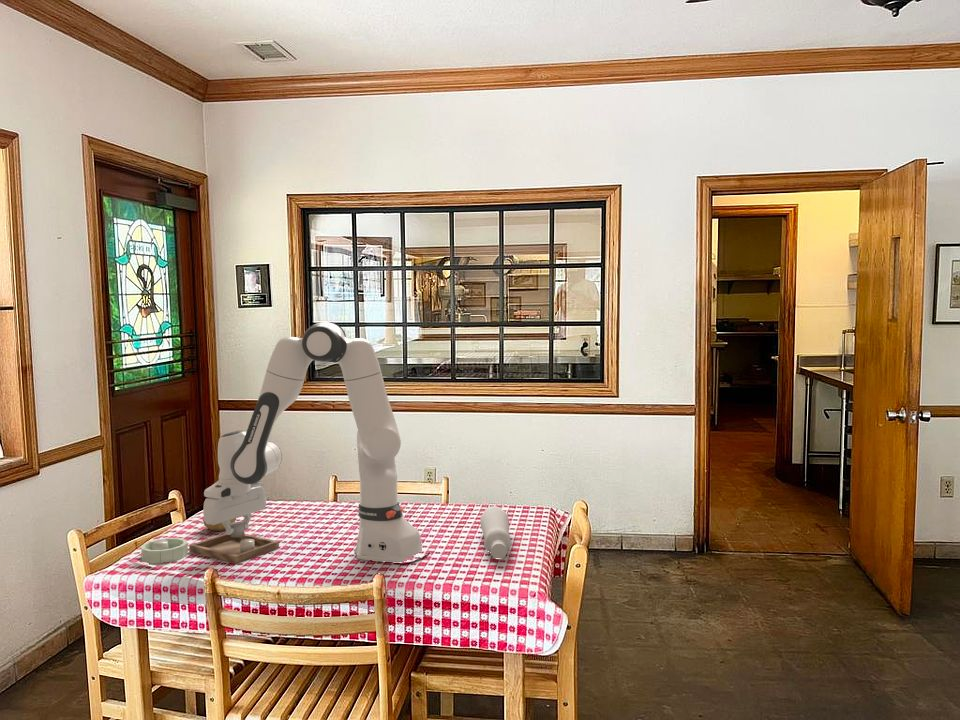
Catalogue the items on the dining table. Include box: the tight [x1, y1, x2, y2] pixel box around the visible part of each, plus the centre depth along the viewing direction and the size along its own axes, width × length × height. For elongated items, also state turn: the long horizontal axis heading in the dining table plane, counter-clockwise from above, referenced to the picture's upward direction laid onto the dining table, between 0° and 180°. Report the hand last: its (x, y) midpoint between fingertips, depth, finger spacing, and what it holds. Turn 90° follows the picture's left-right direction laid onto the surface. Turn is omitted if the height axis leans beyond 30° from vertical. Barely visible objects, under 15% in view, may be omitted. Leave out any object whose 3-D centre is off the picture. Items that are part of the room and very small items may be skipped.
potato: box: [202, 517, 237, 532], centre depth 231 cm, size 10×14×8 cm
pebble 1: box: [153, 540, 168, 550], centre depth 204 cm, size 4×4×4 cm
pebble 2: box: [230, 521, 246, 538], centre depth 209 cm, size 4×4×4 cm
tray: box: [188, 533, 280, 565], centre depth 209 cm, size 20×16×3 cm
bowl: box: [140, 537, 189, 564], centre depth 204 cm, size 12×12×4 cm
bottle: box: [479, 505, 512, 559], centre depth 213 cm, size 9×9×30 cm
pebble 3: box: [240, 539, 254, 553], centre depth 206 cm, size 4×4×4 cm
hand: (237, 531), depth 209 cm, fingers closed on pebble 2, 4 cm apart
